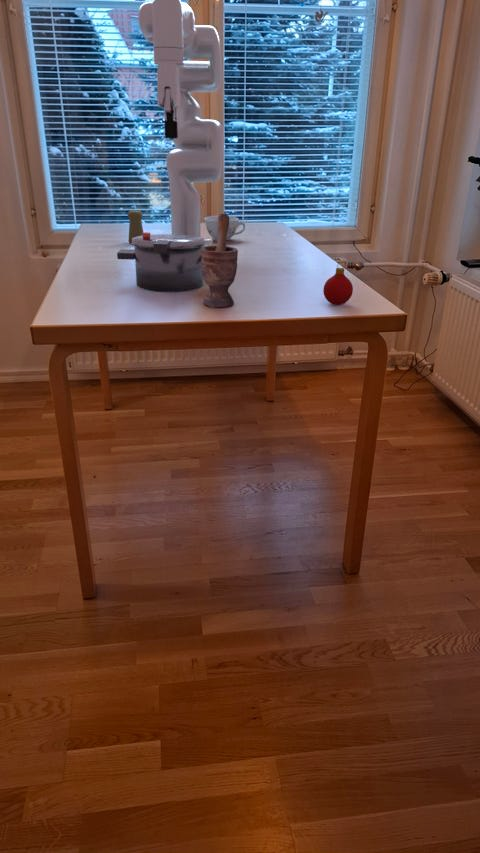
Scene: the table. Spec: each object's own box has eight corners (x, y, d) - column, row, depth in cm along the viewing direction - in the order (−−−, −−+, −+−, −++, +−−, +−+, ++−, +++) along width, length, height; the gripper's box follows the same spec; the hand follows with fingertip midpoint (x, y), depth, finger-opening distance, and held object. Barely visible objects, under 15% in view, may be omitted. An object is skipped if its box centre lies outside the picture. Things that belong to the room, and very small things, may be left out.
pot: (128, 273, 167) (126, 237, 162) (221, 275, 167) (221, 239, 162) (114, 290, 150) (111, 251, 145) (217, 293, 149) (217, 253, 145)
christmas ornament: (324, 308, 139) (328, 266, 135) (320, 300, 145) (323, 259, 141) (353, 308, 139) (358, 266, 135) (348, 300, 146) (352, 260, 141)
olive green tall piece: (141, 244, 207) (139, 211, 201) (125, 243, 208) (123, 211, 202) (147, 241, 212) (145, 209, 207) (131, 240, 213) (129, 208, 208)
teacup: (203, 242, 212) (203, 219, 208) (205, 236, 223) (205, 215, 219) (244, 243, 212) (245, 220, 208) (244, 237, 223) (245, 215, 219)
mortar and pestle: (196, 296, 146) (195, 212, 137) (230, 295, 148) (231, 212, 139) (204, 309, 136) (203, 220, 127) (240, 307, 138) (241, 219, 129)
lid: (139, 238, 161) (138, 227, 160) (207, 239, 161) (207, 229, 160) (120, 251, 139) (120, 239, 138) (199, 253, 139) (199, 241, 138)
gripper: (158, 60, 154) (161, 137, 162) (149, 54, 141) (153, 138, 149) (186, 60, 154) (188, 137, 162) (180, 54, 140) (182, 139, 149)
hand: (171, 138), depth 156 cm, fingers closed
